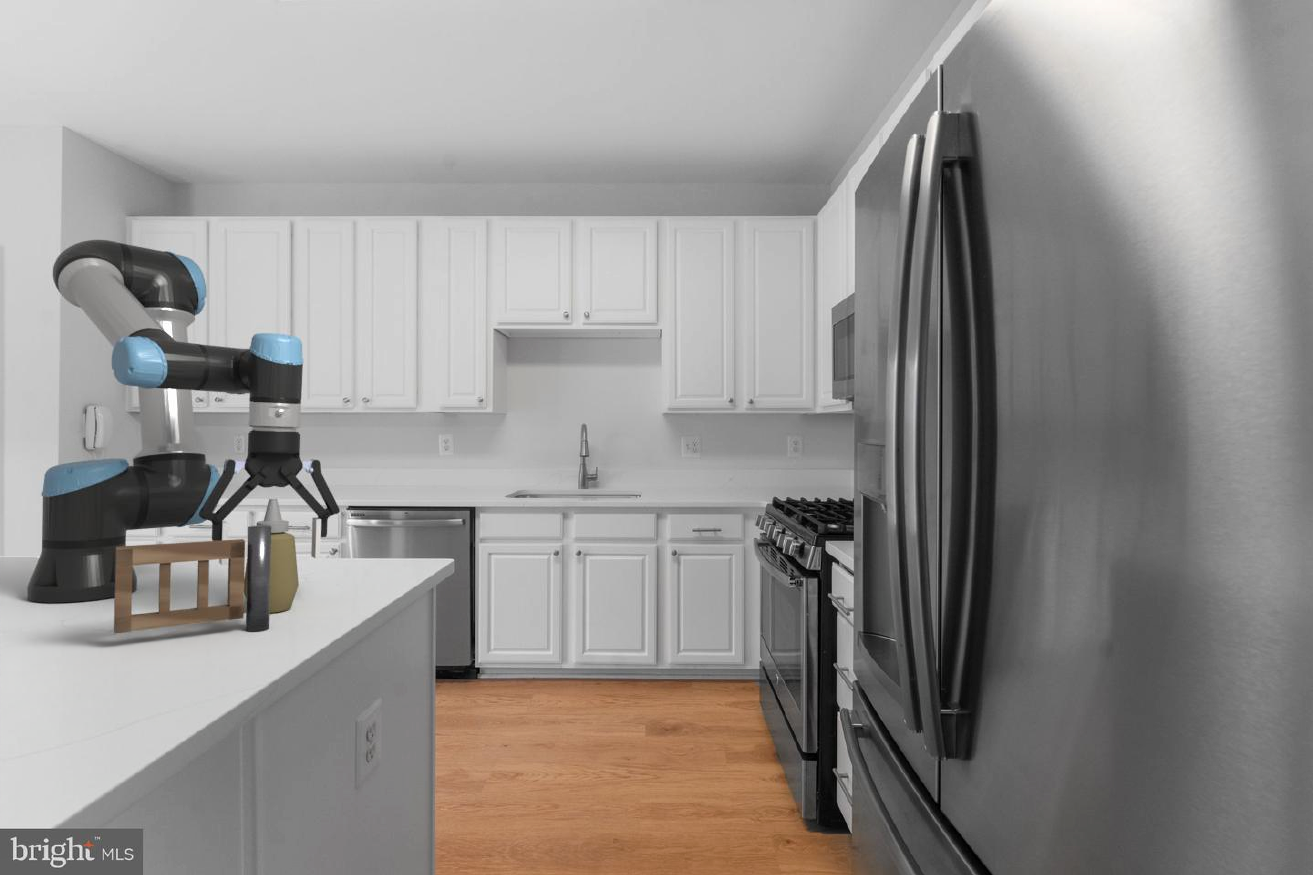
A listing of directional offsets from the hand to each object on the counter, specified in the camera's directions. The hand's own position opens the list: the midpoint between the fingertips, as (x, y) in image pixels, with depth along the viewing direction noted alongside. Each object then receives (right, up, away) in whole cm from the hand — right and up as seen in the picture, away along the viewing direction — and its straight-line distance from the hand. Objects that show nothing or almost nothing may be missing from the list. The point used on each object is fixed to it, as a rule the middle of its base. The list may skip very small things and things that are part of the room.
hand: (270, 560), depth 121 cm
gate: (-3, -6, -18) cm, 19 cm away
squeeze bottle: (0, -8, 0) cm, 8 cm away
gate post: (+4, -8, -12) cm, 15 cm away
